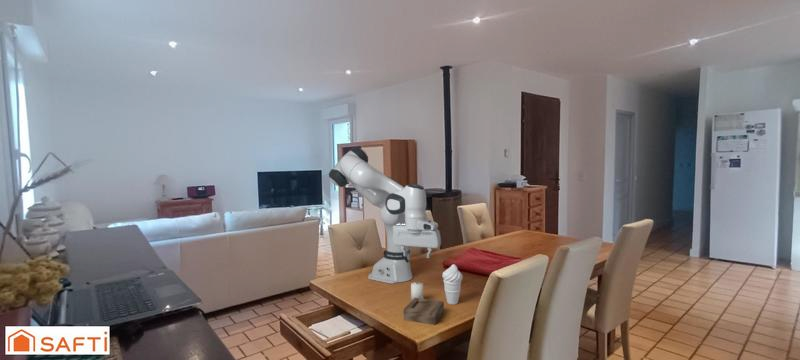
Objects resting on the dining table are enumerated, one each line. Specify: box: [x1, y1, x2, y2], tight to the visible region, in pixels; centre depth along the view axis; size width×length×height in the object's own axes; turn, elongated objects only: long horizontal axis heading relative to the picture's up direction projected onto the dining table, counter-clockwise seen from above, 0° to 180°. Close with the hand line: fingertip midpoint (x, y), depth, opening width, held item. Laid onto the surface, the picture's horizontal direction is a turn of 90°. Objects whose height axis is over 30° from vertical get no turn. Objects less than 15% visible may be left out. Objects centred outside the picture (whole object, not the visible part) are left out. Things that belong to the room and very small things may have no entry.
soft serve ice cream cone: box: [441, 263, 464, 305], centre depth 151 cm, size 8×8×16 cm
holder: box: [403, 298, 445, 325], centre depth 139 cm, size 12×12×4 cm
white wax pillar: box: [410, 281, 424, 302], centre depth 152 cm, size 5×5×8 cm
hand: (416, 257), depth 152 cm, fingers open, 8 cm apart
